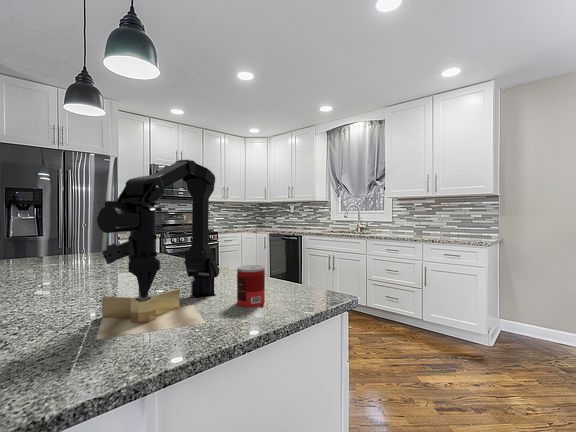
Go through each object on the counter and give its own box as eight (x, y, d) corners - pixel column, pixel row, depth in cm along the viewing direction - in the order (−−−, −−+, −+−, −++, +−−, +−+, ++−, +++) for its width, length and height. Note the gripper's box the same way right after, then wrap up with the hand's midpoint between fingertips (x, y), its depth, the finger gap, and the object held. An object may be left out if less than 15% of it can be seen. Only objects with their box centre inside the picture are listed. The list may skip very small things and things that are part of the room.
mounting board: (193, 307, 88) (193, 304, 88) (205, 326, 74) (205, 322, 74) (102, 319, 78) (102, 316, 78) (96, 343, 64) (95, 339, 64)
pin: (148, 317, 78) (148, 285, 78) (148, 320, 76) (148, 286, 76) (138, 318, 77) (138, 285, 77) (138, 321, 75) (138, 287, 75)
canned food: (268, 303, 93) (268, 265, 93) (257, 311, 85) (257, 270, 85) (245, 300, 95) (245, 264, 95) (232, 308, 88) (232, 268, 88)
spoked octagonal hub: (179, 307, 86) (179, 288, 86) (184, 317, 78) (184, 297, 78) (102, 316, 78) (102, 296, 78) (99, 329, 70) (98, 306, 70)
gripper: (107, 229, 81) (107, 290, 81) (100, 234, 64) (101, 310, 64) (154, 228, 86) (154, 285, 86) (160, 232, 69) (160, 304, 69)
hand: (143, 295), depth 76 cm, fingers open, 3 cm apart
